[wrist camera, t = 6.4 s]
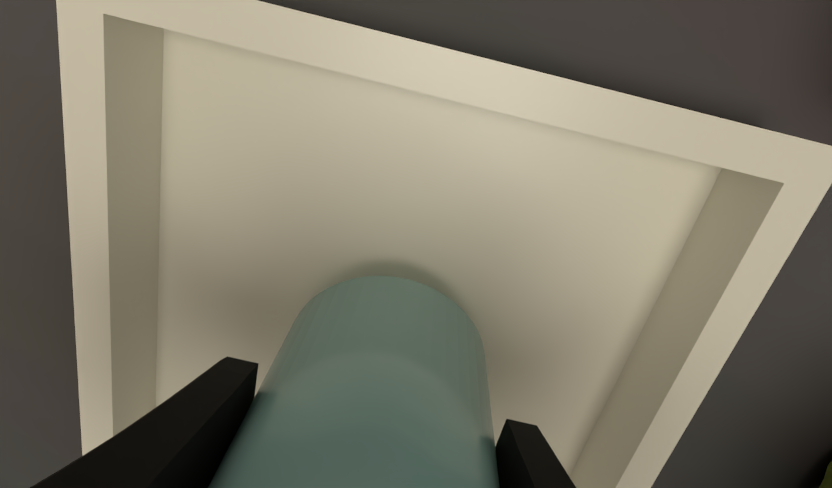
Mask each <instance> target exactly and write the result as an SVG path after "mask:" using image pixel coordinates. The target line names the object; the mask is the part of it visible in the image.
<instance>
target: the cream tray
mask: <svg viewBox="0 0 832 488" xmlns="http://www.w3.org/2000/svg"><path fill="white" fill-rule="evenodd" d="M56 3H57V21H58V38H59V56H60V73H61V90H62V108H63V125H64V143H65V160H66V177H67V195H68V212H69V229H70V247H71V264H72V282H73V299H74V316H75V334H76V351H77V369H78V386H79V403H80V421H81V438H82V455H85V454H86V453H88V452H89V451H91V450H93V449H94V448H96V447H97V446H99V445H101V444H102V443H104V442H105V441H107V440H108V439H110V438H112V437H113V436H115V435H116V434H118V433H119V432H121V431H122V430H124V429H125V428H127V427H128V426H130V425H131V424H132V423H134V422H135V421H137V420H138V419H140V418H141V417H143V416H144V415H146V414H147V413H148V412H150V411H151V410H153V409H154V408H156V407H157V406H159V405H160V404H161V403H163V402H164V401H166V400H167V399H168V398H170V397H171V396H173V395H174V394H175V393H177V392H178V391H179V390H181V389H182V388H184V387H185V386H186V385H188V384H189V383H190V382H192V381H193V380H194V379H196V378H197V377H198V376H200V375H201V374H203V373H204V372H205V371H207V370H208V369H209V368H211V367H212V366H213V365H215V364H216V363H217V362H219V361H220V360H221V359H223V358H225V357H227V356H228V357H232V358H237V359H241V360H246V361H250V362H255V363H259V364H258V372H257V379H256V387H255V395H256V394H257V392H258V390H259V388H260V386H261V384H262V382H263V380H264V378H265V376H266V374H267V372H268V371H269V369H270V367H271V365H272V363H273V361H274V359H275V357H276V355H277V353H278V351H279V349H280V347H281V346H282V344H283V342H284V340H285V338H286V336H287V334H288V332H289V330H290V328H291V326H292V324H293V322H294V321H295V319H296V317H297V316H298V314H299V312H300V311H301V310H302V309H303V307H304V306H305V305H306V304H307V303H308V302H309V301H310V300H311V299H312V298H314V297H315V296H316V295H317V294H319V293H320V292H322V291H323V290H325V289H327V288H328V287H331V286H333V285H335V284H337V283H340V282H343V281H346V280H350V279H353V278H359V277H365V276H392V277H399V278H404V279H409V280H413V281H416V282H419V283H422V284H424V285H427V286H429V287H431V288H434V289H436V290H437V291H439V292H441V293H442V294H444V295H446V296H447V297H449V298H450V299H451V300H452V301H454V302H455V303H456V304H458V305H459V306H460V307H461V308H462V309H463V310H464V311H465V312H466V314H467V315H468V316H469V318H470V319H471V320H472V321H473V323H474V325H475V326H476V328H477V330H478V332H479V334H480V337H481V339H482V342H483V346H484V351H485V357H486V366H487V375H488V385H489V394H490V403H491V412H492V421H493V430H494V439H495V446H496V444H497V441H498V439H499V436H500V434H501V431H502V429H503V426H504V424H505V421H506V419H510V420H515V421H519V422H524V423H528V424H533V425H537V426H538V428H539V430H540V431H541V433H542V434H543V436H544V437H545V439H546V440H547V442H548V444H549V445H550V447H551V448H552V450H553V452H554V453H555V455H556V456H557V458H558V460H559V461H560V463H561V464H562V466H563V468H564V469H565V471H566V472H567V474H568V476H569V477H570V479H571V480H572V482H573V483H574V485H575V487H576V488H651V486H652V485H653V483H654V481H655V480H656V478H657V476H658V475H659V473H660V471H661V469H662V468H663V466H664V464H665V463H666V461H667V459H668V458H669V456H670V454H671V453H672V451H673V449H674V448H675V446H676V444H677V443H678V441H679V439H680V438H681V436H682V434H683V432H684V431H685V429H686V427H687V426H688V424H689V422H690V421H691V419H692V417H693V416H694V414H695V412H696V411H697V409H698V407H699V406H700V404H701V402H702V400H703V399H704V397H705V395H706V394H707V392H708V390H709V389H710V387H711V385H712V384H713V382H714V380H715V379H716V377H717V375H718V374H719V372H720V370H721V369H722V367H723V365H724V363H725V362H726V360H727V358H728V357H729V355H730V353H731V352H732V350H733V348H734V347H735V345H736V343H737V342H738V340H739V338H740V337H741V335H742V333H743V332H744V330H745V328H746V326H747V325H748V323H749V321H750V320H751V318H752V316H753V315H754V313H755V311H756V310H757V308H758V306H759V305H760V303H761V301H762V300H763V298H764V296H765V295H766V293H767V291H768V289H769V288H770V286H771V284H772V283H773V281H774V279H775V278H776V276H777V274H778V273H779V271H780V269H781V268H782V266H783V264H784V263H785V261H786V259H787V258H788V256H789V254H790V252H791V251H792V249H793V247H794V246H795V244H796V242H797V241H798V239H799V237H800V236H801V234H802V232H803V231H804V229H805V227H806V226H807V224H808V222H809V221H810V219H811V217H812V215H813V214H814V212H815V210H816V209H817V207H818V205H819V204H820V202H821V200H822V199H823V197H824V195H825V194H826V192H827V190H828V189H829V187H830V185H831V183H832V146H830V145H826V144H822V143H818V142H814V141H810V140H806V139H802V138H798V137H794V136H790V135H786V134H782V133H778V132H774V131H770V130H766V129H763V128H759V127H755V126H751V125H747V124H743V123H739V122H735V121H731V120H727V119H723V118H719V117H715V116H711V115H707V114H703V113H699V112H695V111H692V110H688V109H684V108H680V107H676V106H672V105H668V104H664V103H660V102H656V101H652V100H648V99H644V98H640V97H636V96H632V95H628V94H625V93H621V92H617V91H613V90H609V89H605V88H601V87H597V86H593V85H589V84H585V83H581V82H577V81H573V80H569V79H565V78H561V77H558V76H554V75H550V74H546V73H542V72H538V71H534V70H530V69H526V68H522V67H518V66H514V65H510V64H506V63H502V62H498V61H494V60H491V59H487V58H483V57H479V56H475V55H471V54H467V53H463V52H459V51H455V50H451V49H447V48H443V47H439V46H435V45H431V44H427V43H423V42H420V41H416V40H412V39H408V38H404V37H400V36H396V35H392V34H388V33H384V32H380V31H376V30H372V29H368V28H364V27H360V26H356V25H353V24H349V23H345V22H341V21H337V20H333V19H329V18H325V17H321V16H317V15H313V14H309V13H305V12H301V11H297V10H293V9H289V8H286V7H282V6H278V5H274V4H270V3H266V2H262V1H258V0H56ZM255 395H254V397H255Z"/></svg>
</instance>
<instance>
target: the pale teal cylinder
mask: <svg viewBox="0 0 832 488" xmlns="http://www.w3.org/2000/svg"><path fill="white" fill-rule="evenodd" d="M208 488H500V485H499V476H498V467H497V458H496V448H495V439H494V430H493V421H492V412H491V403H490V394H489V385H488V375H487V366H486V357H485V351H484V346H483V342H482V339H481V337H480V334H479V332H478V330H477V328H476V326H475V325H474V323H473V321H472V320H471V319H470V318H469V316H468V315H467V314H466V312H465V311H464V310H463V309H462V308H461V307H460V306H459V305H458V304H456V303H455V302H454V301H452V300H451V299H450V298H449V297H447V296H446V295H444V294H442V293H441V292H439V291H437V290H436V289H434V288H431V287H429V286H427V285H424V284H422V283H419V282H416V281H413V280H409V279H404V278H399V277H392V276H365V277H359V278H353V279H350V280H346V281H343V282H340V283H337V284H335V285H333V286H331V287H328V288H327V289H325V290H323V291H322V292H320V293H319V294H317V295H316V296H315V297H314V298H312V299H311V300H310V301H309V302H308V303H307V304H306V305H305V306H304V307H303V309H302V310H301V311H300V312H299V314H298V316H297V317H296V319H295V321H294V322H293V324H292V326H291V328H290V330H289V332H288V334H287V336H286V338H285V340H284V342H283V344H282V346H281V347H280V349H279V351H278V353H277V355H276V357H275V359H274V361H273V363H272V365H271V367H270V369H269V371H268V372H267V374H266V376H265V378H264V380H263V382H262V384H261V386H260V388H259V390H258V392H257V394H256V395H255V397H254V399H253V401H252V403H251V405H250V407H249V409H248V411H247V413H246V415H245V417H244V419H243V420H242V422H241V424H240V426H239V428H238V430H237V432H236V434H235V436H234V438H233V440H232V442H231V444H230V445H229V447H228V449H227V451H226V453H225V455H224V457H223V459H222V461H221V463H220V465H219V467H218V468H217V470H216V472H215V474H214V476H213V478H212V480H211V482H210V484H209V486H208Z"/></svg>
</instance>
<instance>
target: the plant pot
mask: <svg viewBox="0 0 832 488" xmlns="http://www.w3.org/2000/svg"><path fill="white" fill-rule="evenodd" d="M819 488H832V461H831V462H830V463H829V465H828V467H827V470H826V473H825V476H824V479H823V481H822V483H821V485H820V486H819Z"/></svg>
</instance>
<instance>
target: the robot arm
mask: <svg viewBox="0 0 832 488" xmlns="http://www.w3.org/2000/svg"><path fill="white" fill-rule="evenodd" d="M258 364H259V363H255V362H250V361H246V360H241V359H237V358H232V357H228V356H227V357H225V358H223V359H221V360H220V361H219V362H217V363H216V364H215V365H213V366H212V367H211V368H209V369H208V370H207V371H205V372H204V373H203V374H201V375H200V376H198V377H197V378H196V379H194V380H193V381H192V382H190V383H189V384H188V385H186V386H185V387H184V388H182V389H181V390H179V391H178V392H177V393H175V394H174V395H173V396H171V397H170V398H168V399H167V400H166V401H164V402H163V403H161V404H160V405H159V406H157V407H156V408H154V409H153V410H151V411H150V412H148V413H147V414H146V415H144V416H143V417H141V418H140V419H138V420H137V421H135V422H134V423H132V424H131V425H130V426H128V427H127V428H125V429H124V430H122V431H121V432H119V433H118V434H116V435H115V436H113V437H112V438H110V439H108V440H107V441H105V442H104V443H102V444H101V445H99V446H97V447H96V448H94V449H93V450H91V451H89V452H88V453H86V454H85V455H83V456H82V457H80V458H78V459H77V460H75V461H74V462H72V463H70V464H69V465H67V466H66V467H64V468H62V469H61V470H59V471H58V472H56V473H54V474H52V475H51V476H49V477H47V478H46V479H44V480H42V481H41V482H39V483H37V484H36V485H34V486H32V487H30V488H208V486H209V484H210V482H211V480H212V478H213V476H214V474H215V472H216V470H217V468H218V467H219V465H220V463H221V461H222V459H223V457H224V455H225V453H226V451H227V449H228V447H229V445H230V444H231V442H232V440H233V438H234V436H235V434H236V432H237V430H238V428H239V426H240V424H241V422H242V420H243V419H244V417H245V415H246V413H247V411H248V409H249V407H250V405H251V403H252V401H253V399H254V395H255V387H256V379H257V372H258ZM495 448H496V458H497V467H498V476H499V485H500V488H576V487H575V485H574V483H573V482H572V480H571V479H570V477H569V476H568V474H567V472H566V471H565V469H564V468H563V466H562V464H561V463H560V461H559V460H558V458H557V456H556V455H555V453H554V452H553V450H552V448H551V447H550V445H549V444H548V442H547V440H546V439H545V437H544V436H543V434H542V433H541V431H540V430H539V428H538V426H537V425H533V424H528V423H524V422H519V421H515V420H510V419H506V421H505V424H504V426H503V429H502V431H501V434H500V436H499V439H498V441H497V444H496V446H495Z"/></svg>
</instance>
